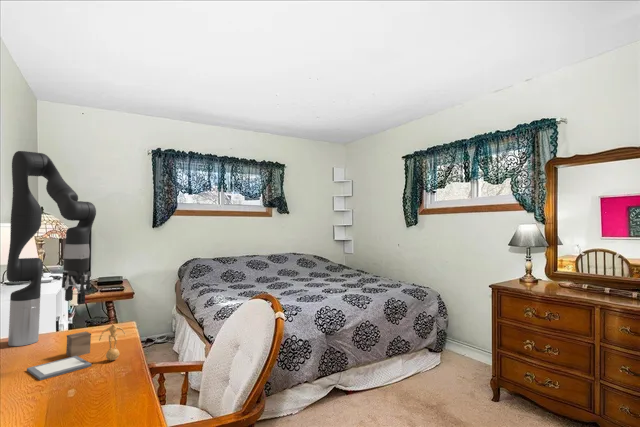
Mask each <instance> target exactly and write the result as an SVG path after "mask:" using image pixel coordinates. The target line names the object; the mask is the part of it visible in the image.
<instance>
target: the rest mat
mask: <svg viewBox="0 0 640 427" xmlns="http://www.w3.org/2000/svg"><path fill="white" fill-rule="evenodd" d="M89 367H93V366H92V363H91V362H89V361H87V360H86V359H84V358H83V357H80V356H73V357H69V356H68V357H66V358H61V359H57V360H54V361H50V362H46V363H42V364H38V365H33V366H30V367H27V368H26V371H27V372H28V373H29V374H31V375H32V376H34V378H36V379H37V380H39V381H43V380H47V379H51V378H55V377H58V376H61V375H64V374H67V373H71V372H75V371H78V370H83V369H86V368H89Z"/></svg>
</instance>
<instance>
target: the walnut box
mask: <svg viewBox="0 0 640 427" xmlns="http://www.w3.org/2000/svg"><path fill="white" fill-rule="evenodd" d="M91 337H92V333H91V332H88V331H87V330H86V331H80V332H76V333H72V334H67V335H66V349H65V350H66V353H65V355H66V356H67V357H68V358H69V357H73V356H78V357H80V356H84V355H88V354H90V353H91V345H92V344H91V342H92V341H91V340H92V339H91Z"/></svg>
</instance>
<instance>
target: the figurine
mask: <svg viewBox="0 0 640 427" xmlns="http://www.w3.org/2000/svg"><path fill="white" fill-rule="evenodd" d="M117 330H121V331H122V333H123V334H124V336H125V338H127V334H126V332H125V330H124V328H122V327H119V326H117V325H115V324H112V325H110V326H109V327H107V328H105V329H104V330H103V331H102V332H101V335H99V338H98V341H101V340H102V337H103V334H104V333H105V332H108V331H109V333H110V334H109V335H108V343H109V349H108V351H107V352H106V354H105V357H106V359H107V360H108V361H116V360H117V359H118V358H119V357H120V351H119V349H118V348H117V347H116V346H117V345H116V344H117V342H118V334H116V332H117ZM112 340H114V346H113V348H112Z"/></svg>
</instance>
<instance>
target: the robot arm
mask: <svg viewBox="0 0 640 427" xmlns="http://www.w3.org/2000/svg"><path fill="white" fill-rule="evenodd" d="M30 176H31V177H43V178H44V179H46V181H47V182H46V186H45V189H46V192H47V194H48V195H49V197H50V198H51V199H52V200H53V201H54V203H56V205H57V208H58V210H59V212H60V215H61V217H62V218H64V219H65V220H67V221H72V222H73V221H78V223H77V225H76V226H73V227H69V228H67V229H66V231H65V246H64V250H63V251H64V252H63V253H64V254H63V272H62V277H61V278H62V279H61V280H62V281H61V289H64V291H65V293H64V302H65V301H66V302H70V301H73V298H74V290H73V289H74V288H75V289H76V292H77V294H76V295H77V298H76V304H77V305H84V304H86V294H87V292H90V290H91V287H90V286H91V285H90V284H91V283H90V280H91V279H90V278H91V276H90V274H88V273H87V274H86V273H85V271H87V270H89V268H90V232H91V230H92V227H93V226H94V223H95V222H94V221H95V219H96V216H97V208H96V206H95V205H94V203H93V202H90V201H81V200H80V201H79V196H78V194H77V192H76V191H75V190H74V189H73V188H72V187H71V186H70V185H69V184H68V183H67V182H66V181H65V180H64V179H63V176H62V175H61V174H60V172H59V170H58V168H57V166H56V165H55V163H54V162H53V161H52V159H51V158H50V156H48V155H47V154H46V153H42V152H35V151H27V150H26V151H25V150H18V151H16V152H14V154H13V156H12V160H11V177H12V180H11V181H12V198H11V200H12V201H11V212H10V234H9V235H10V241H9V250H8V256H7V266H6V279H7V281H8V282H9V283H23V282H24V283H25V282H26V283H27V282H30V283H29V284H28V285H26V286H25V287H23V288H20V289H18V290H15V291H12V292H11V293H10V300H9V317H8V318H9V321H8V337H7V338H8V340H7V341H8V342H7V343H8V344H7V345H8V346H10V347H22V346H27V345H32V344H35V343H37V342H38V341H39V337H40V334H39V333H40V332H39V331H40V313H41V292H42V290H41V289H42V288H41V287H42V286H41V285H42V277H43V270H44V269H43V266H44V265H43V260H42V258H40V257H28V258H27V257H25V258H24V257H23V258H20V255H21V253H22V251H23V249H24V248H25V247H26V245H27V243H29V241H31V239H32V238H33V237H34V236H35V235H36V234H37V233H38V232H39V230H40V228H41V227H42V219H43V218H42V217H43V215H42V214H43V212H42V211H43V210H42V207H41V205H40V203H39V202H38V200H37V199H36V198H35V196H34V195H33V193H32V192H31V189H30V187H29V177H30Z"/></svg>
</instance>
